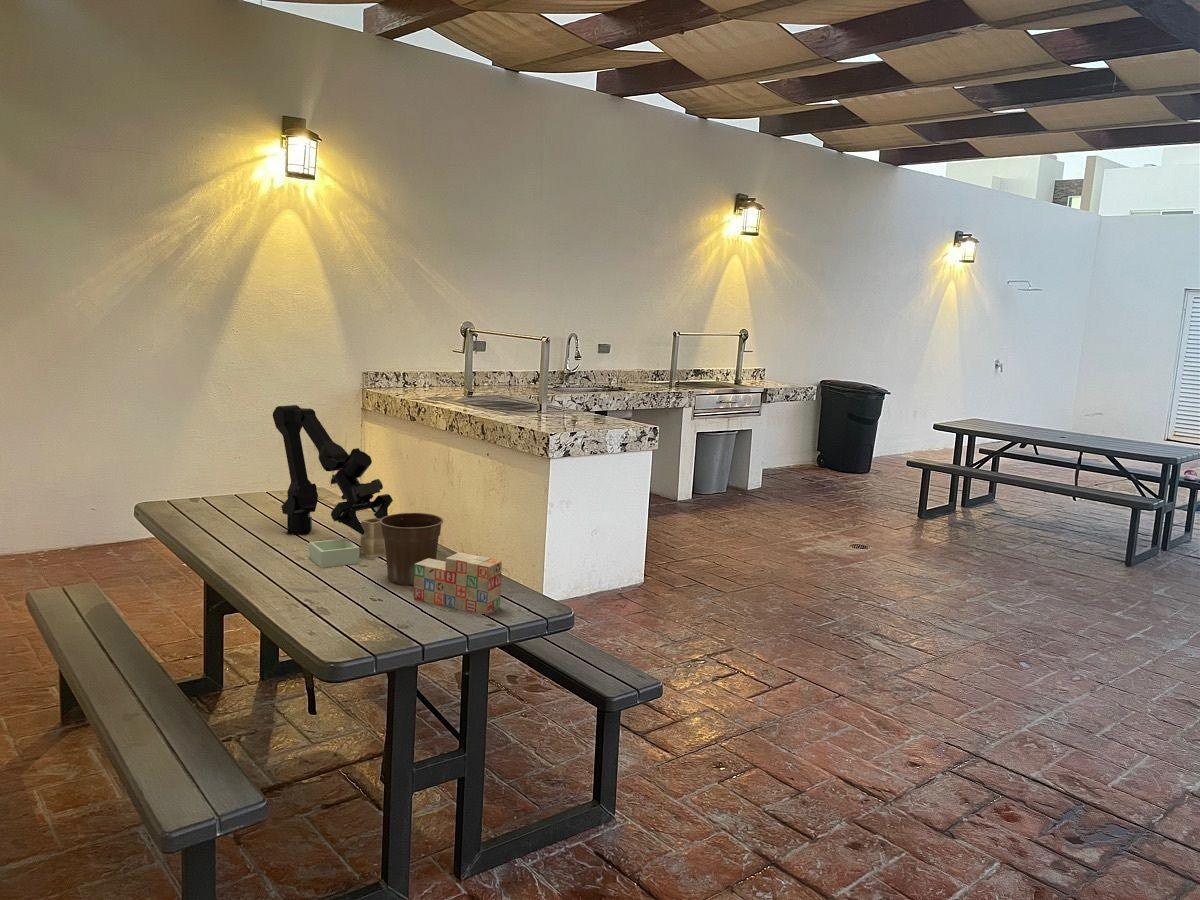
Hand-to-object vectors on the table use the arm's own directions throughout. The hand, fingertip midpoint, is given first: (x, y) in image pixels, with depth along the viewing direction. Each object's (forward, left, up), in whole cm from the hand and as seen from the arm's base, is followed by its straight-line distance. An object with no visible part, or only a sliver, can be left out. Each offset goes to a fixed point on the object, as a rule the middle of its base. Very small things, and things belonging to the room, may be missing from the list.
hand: (376, 531), depth 261 cm
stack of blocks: (+24, -42, -7) cm, 48 cm away
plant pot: (+11, -22, -7) cm, 26 cm away
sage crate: (-11, -6, -7) cm, 14 cm away
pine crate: (-1, +1, -7) cm, 7 cm away
